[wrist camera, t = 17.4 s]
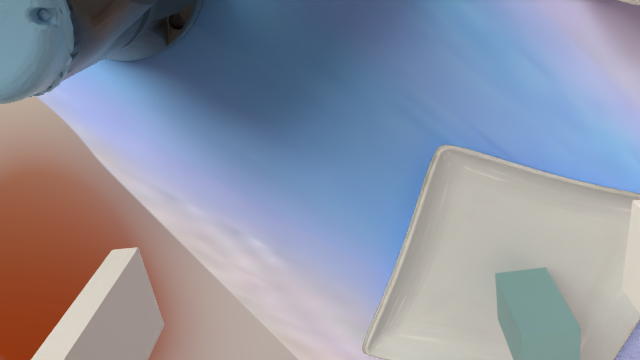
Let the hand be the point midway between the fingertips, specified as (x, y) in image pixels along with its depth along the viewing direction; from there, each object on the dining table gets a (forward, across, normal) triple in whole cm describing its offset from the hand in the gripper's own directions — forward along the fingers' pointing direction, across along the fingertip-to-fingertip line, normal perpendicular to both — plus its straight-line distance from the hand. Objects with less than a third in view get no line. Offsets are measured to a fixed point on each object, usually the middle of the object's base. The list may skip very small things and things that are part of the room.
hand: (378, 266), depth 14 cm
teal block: (+34, +14, -28) cm, 46 cm away
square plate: (+38, +14, -28) cm, 49 cm away
